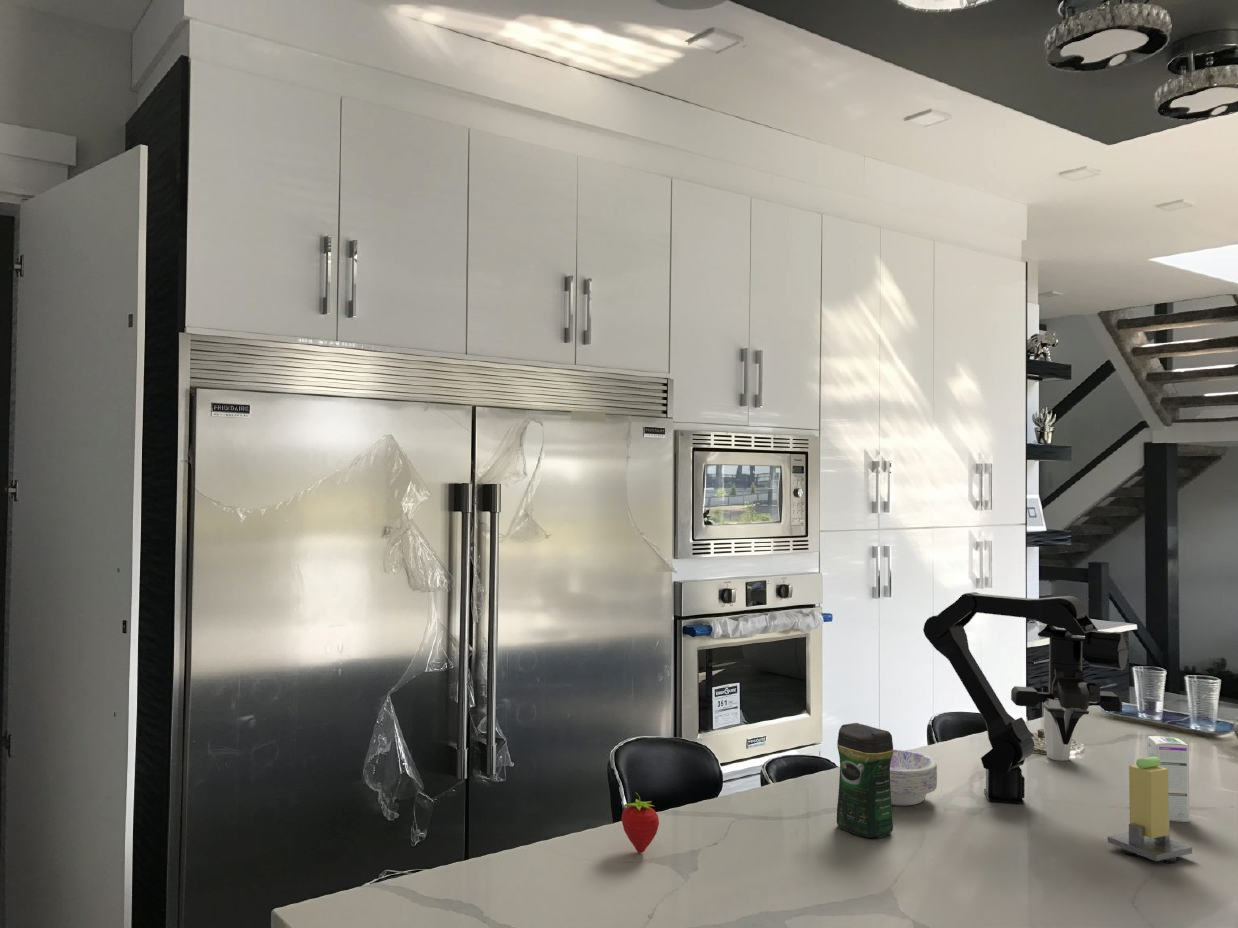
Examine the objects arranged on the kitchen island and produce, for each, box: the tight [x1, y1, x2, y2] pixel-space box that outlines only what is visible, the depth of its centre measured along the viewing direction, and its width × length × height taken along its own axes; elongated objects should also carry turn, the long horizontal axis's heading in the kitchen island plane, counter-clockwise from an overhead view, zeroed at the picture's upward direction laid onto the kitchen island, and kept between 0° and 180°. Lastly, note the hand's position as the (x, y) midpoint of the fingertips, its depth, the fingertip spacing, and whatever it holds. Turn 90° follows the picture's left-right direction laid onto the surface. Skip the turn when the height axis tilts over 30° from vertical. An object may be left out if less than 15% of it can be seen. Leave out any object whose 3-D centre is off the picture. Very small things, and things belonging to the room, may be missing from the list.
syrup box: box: [1147, 735, 1191, 823], centre depth 182 cm, size 6×6×14 cm
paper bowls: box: [890, 748, 938, 807], centre depth 189 cm, size 15×15×8 cm
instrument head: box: [1128, 757, 1170, 838], centre depth 162 cm, size 4×4×13 cm
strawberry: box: [621, 792, 660, 854], centre depth 158 cm, size 6×8×10 cm
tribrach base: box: [1107, 821, 1193, 865], centre depth 162 cm, size 9×9×5 cm
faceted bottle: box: [1043, 698, 1073, 761], centre depth 221 cm, size 6×6×22 cm
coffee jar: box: [836, 722, 894, 838], centre depth 171 cm, size 10×8×19 cm
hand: (1065, 743), depth 183 cm, fingers closed
